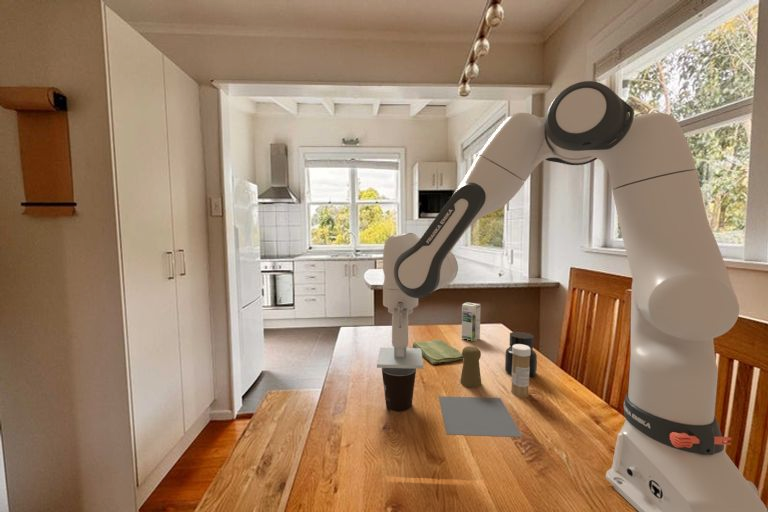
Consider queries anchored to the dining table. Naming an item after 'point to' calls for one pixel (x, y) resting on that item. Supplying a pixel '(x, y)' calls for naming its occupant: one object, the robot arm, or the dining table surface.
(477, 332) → the syrup box
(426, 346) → the washcloth
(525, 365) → the sprinkles bottle
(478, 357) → the cork
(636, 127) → the robot arm
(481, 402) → the mat
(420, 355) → the lid
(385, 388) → the coffee mug
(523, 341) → the ink bottle
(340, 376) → the dining table surface
